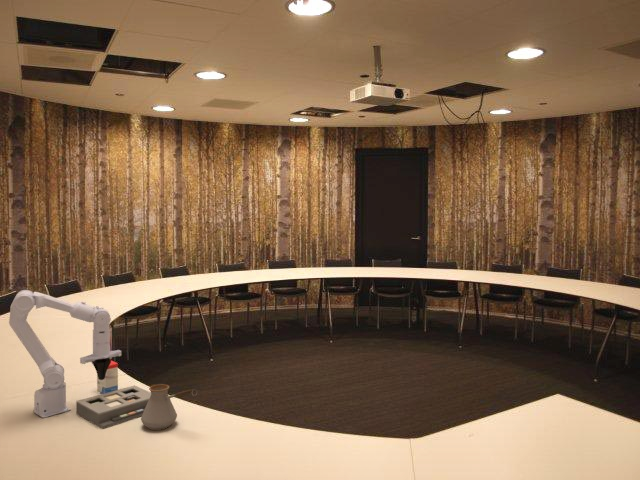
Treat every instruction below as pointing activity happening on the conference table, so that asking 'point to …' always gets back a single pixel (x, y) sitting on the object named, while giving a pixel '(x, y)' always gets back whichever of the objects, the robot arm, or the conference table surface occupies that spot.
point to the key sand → (113, 397)
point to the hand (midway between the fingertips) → (101, 379)
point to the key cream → (113, 404)
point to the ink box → (109, 379)
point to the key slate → (130, 397)
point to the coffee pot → (160, 408)
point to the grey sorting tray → (116, 414)
